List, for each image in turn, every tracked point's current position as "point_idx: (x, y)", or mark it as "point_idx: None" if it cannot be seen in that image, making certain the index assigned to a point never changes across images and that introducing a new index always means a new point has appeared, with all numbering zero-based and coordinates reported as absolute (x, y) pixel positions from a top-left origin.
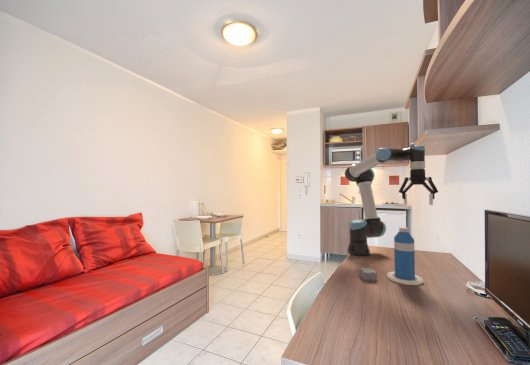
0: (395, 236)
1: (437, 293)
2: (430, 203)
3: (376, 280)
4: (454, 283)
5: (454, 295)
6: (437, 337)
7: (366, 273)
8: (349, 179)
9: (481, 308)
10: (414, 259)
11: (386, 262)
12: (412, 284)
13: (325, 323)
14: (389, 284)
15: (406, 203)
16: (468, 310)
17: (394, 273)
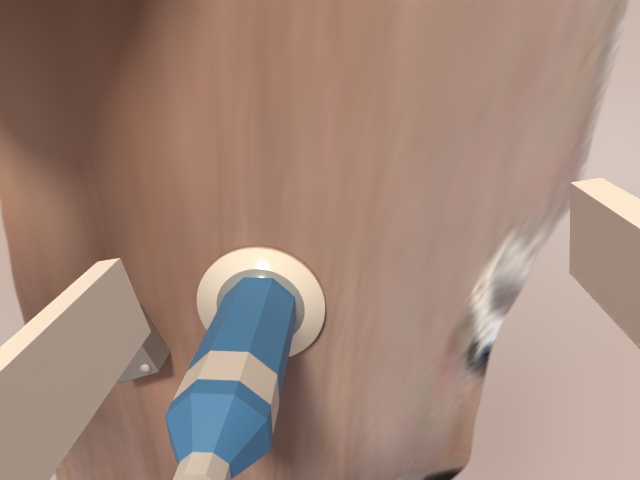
0: (171, 439)
1: (349, 389)
2: (584, 244)
3: (168, 353)
4: (438, 285)
5: (395, 388)
6: None
7: (126, 379)
8: None
9: (433, 442)
10: (284, 375)
11: (181, 75)
12: None
13: None
14: None
15: (131, 347)
16: (395, 460)
17: (223, 286)
